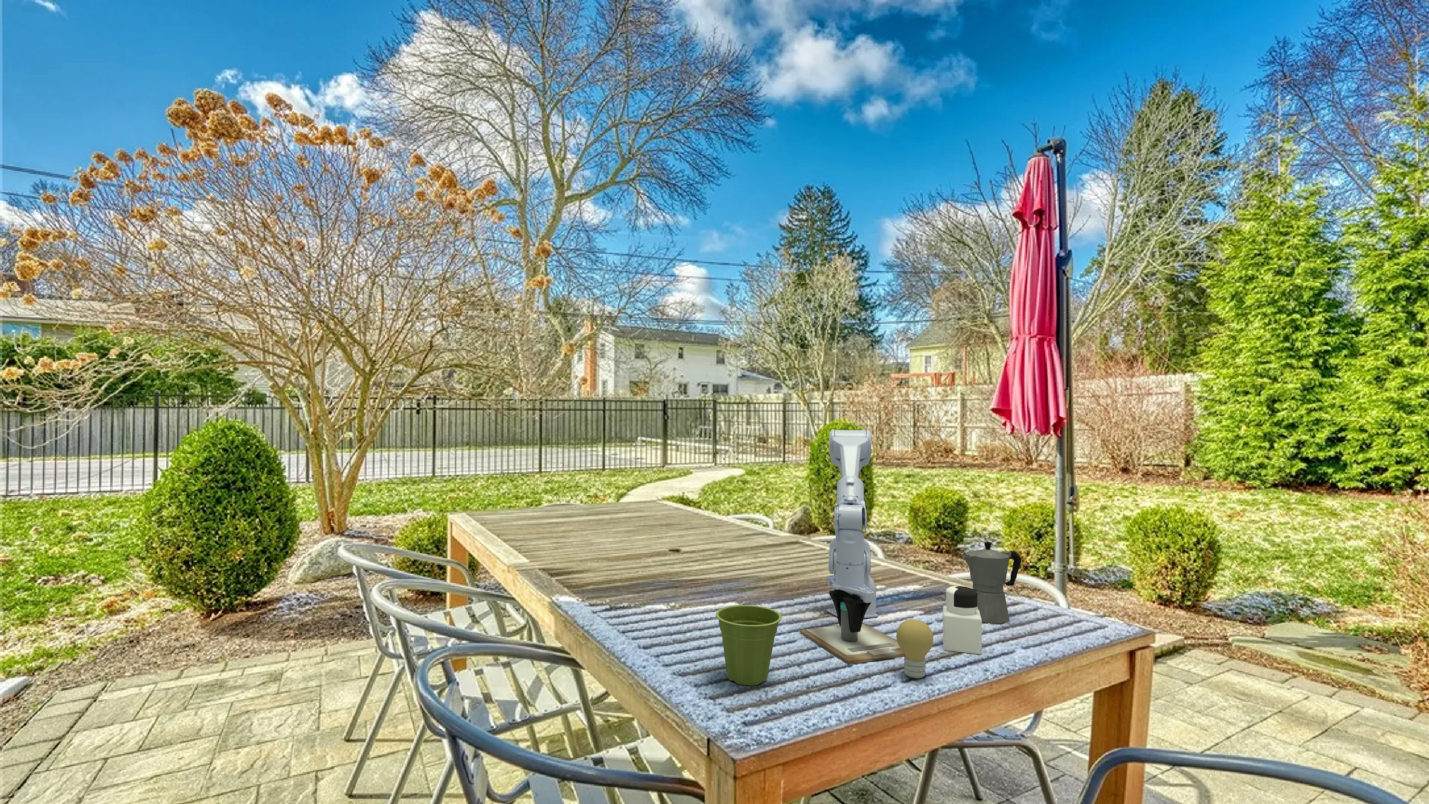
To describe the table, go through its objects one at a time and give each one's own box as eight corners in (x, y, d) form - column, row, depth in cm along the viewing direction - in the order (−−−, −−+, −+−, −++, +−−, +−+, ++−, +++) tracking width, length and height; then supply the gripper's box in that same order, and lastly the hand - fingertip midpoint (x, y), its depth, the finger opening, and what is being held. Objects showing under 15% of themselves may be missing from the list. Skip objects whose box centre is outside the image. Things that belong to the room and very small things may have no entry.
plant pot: (732, 697, 103) (732, 628, 104) (704, 670, 114) (705, 608, 114) (793, 686, 108) (794, 620, 108) (761, 661, 119) (762, 602, 119)
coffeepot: (975, 626, 142) (974, 546, 142) (951, 613, 151) (951, 538, 151) (1034, 622, 145) (1034, 544, 145) (1007, 610, 154) (1007, 537, 154)
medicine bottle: (979, 643, 130) (979, 585, 131) (981, 655, 124) (981, 594, 124) (942, 639, 133) (942, 582, 133) (943, 650, 126) (943, 590, 126)
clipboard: (862, 625, 141) (862, 619, 141) (919, 655, 123) (919, 648, 123) (799, 632, 136) (799, 626, 136) (849, 665, 117) (849, 658, 117)
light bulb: (928, 686, 108) (928, 628, 109) (892, 677, 112) (892, 621, 112) (937, 673, 114) (936, 618, 114) (901, 666, 117) (901, 612, 118)
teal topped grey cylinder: (852, 634, 131) (852, 599, 132) (861, 640, 128) (861, 604, 128) (837, 636, 130) (837, 601, 130) (846, 642, 127) (846, 606, 127)
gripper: (815, 556, 135) (815, 620, 134) (853, 571, 121) (852, 642, 121) (843, 554, 137) (843, 616, 137) (883, 569, 124) (883, 638, 123)
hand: (849, 628), depth 129 cm, fingers closed on teal topped grey cylinder, 3 cm apart
